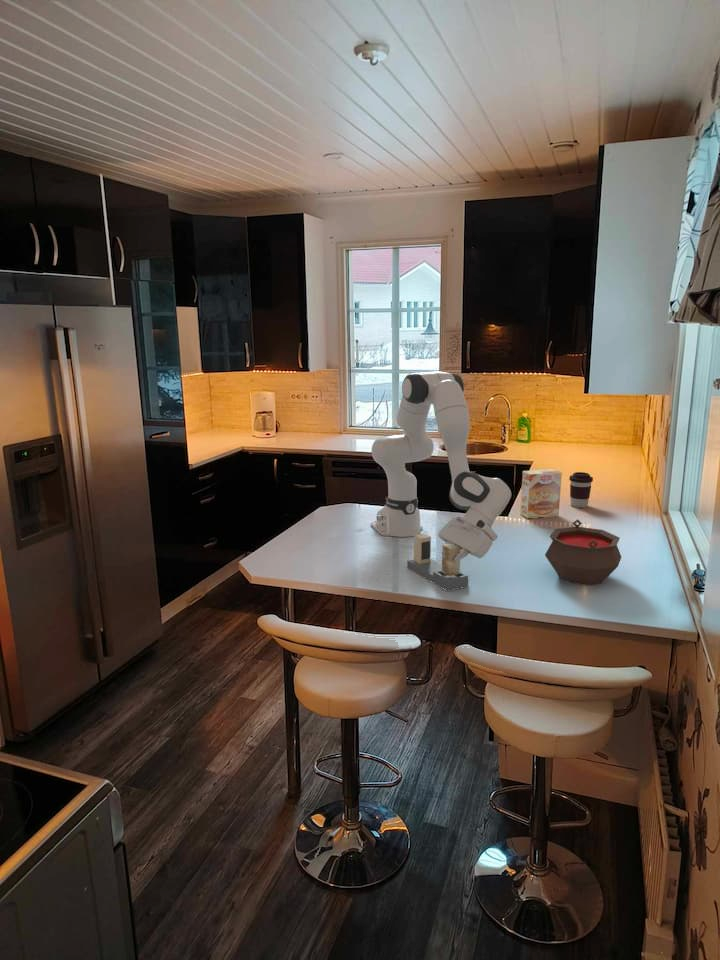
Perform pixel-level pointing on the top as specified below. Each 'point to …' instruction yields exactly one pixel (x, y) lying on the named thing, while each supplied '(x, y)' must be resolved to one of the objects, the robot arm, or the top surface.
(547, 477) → the coffeecake box
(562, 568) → the brown cauldron
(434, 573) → the grey block holder
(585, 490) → the coffee cup
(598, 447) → the top surface
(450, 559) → the block
